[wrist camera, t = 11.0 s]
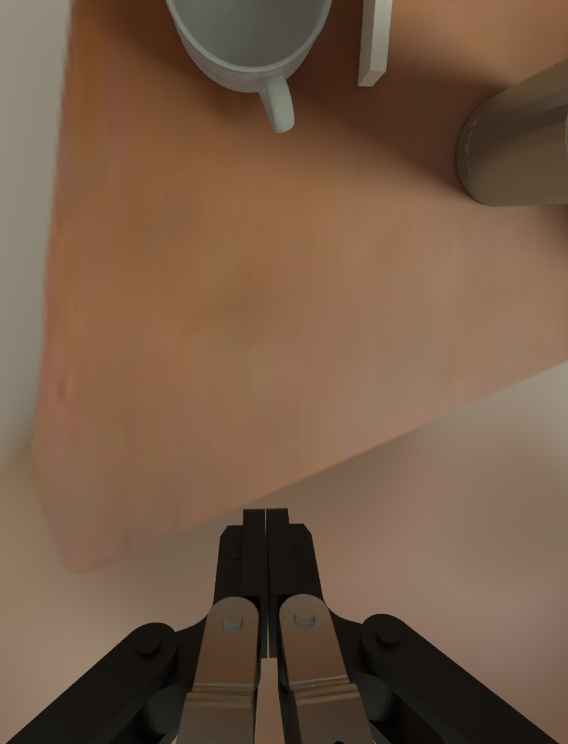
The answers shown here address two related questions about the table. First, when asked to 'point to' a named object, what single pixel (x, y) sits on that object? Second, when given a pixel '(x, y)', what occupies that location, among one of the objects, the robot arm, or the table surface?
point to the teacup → (251, 45)
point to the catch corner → (374, 41)
